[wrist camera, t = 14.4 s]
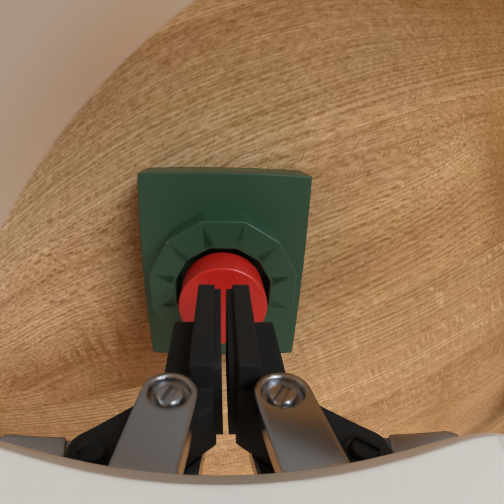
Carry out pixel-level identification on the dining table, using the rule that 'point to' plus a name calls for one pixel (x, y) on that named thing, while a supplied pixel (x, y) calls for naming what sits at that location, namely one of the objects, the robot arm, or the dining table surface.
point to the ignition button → (222, 284)
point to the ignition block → (222, 236)
